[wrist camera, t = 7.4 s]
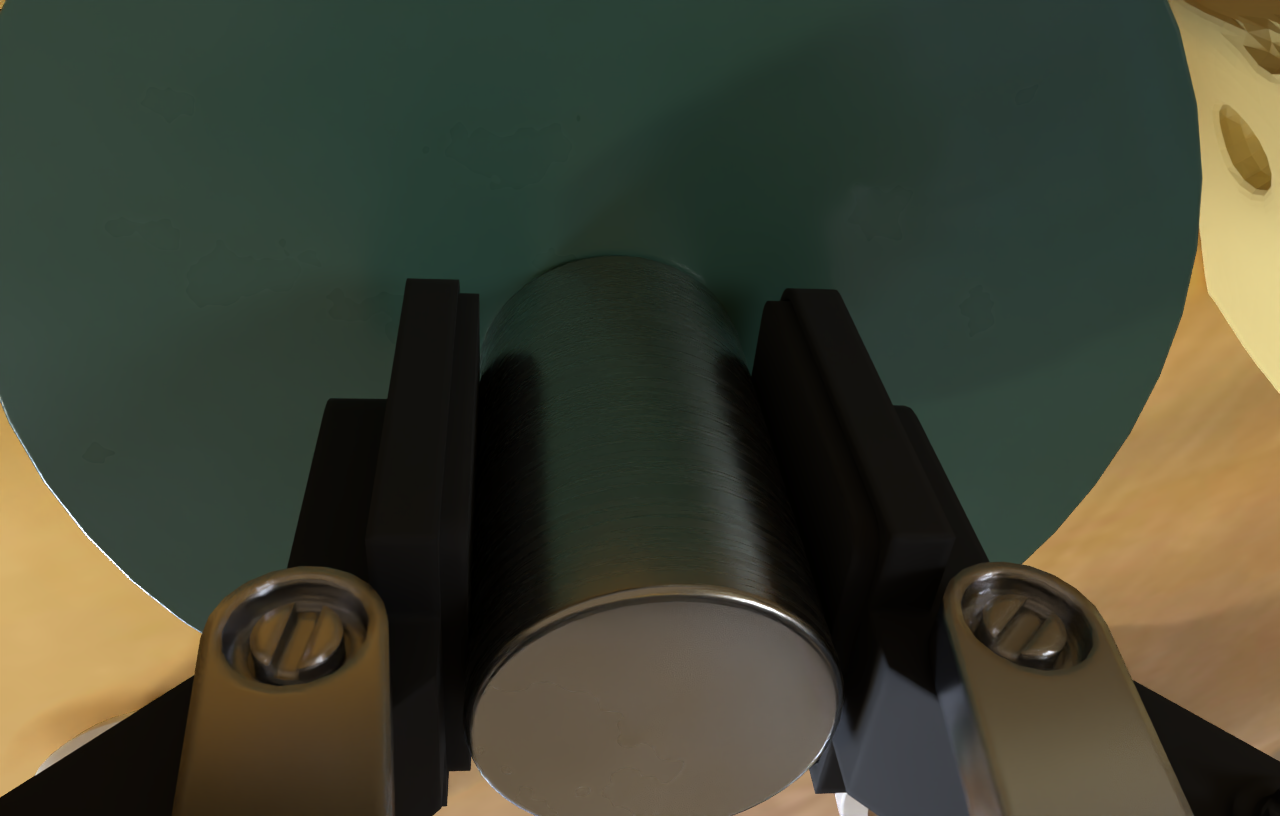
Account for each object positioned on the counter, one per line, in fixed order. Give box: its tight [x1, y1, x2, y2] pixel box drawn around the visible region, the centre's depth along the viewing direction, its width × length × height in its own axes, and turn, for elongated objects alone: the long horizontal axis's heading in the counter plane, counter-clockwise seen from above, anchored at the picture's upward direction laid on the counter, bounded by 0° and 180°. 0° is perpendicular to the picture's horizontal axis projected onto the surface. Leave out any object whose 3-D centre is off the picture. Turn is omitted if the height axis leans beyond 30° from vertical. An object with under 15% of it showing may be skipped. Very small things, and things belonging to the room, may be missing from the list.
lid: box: [0, 0, 1203, 816], centre depth 11 cm, size 14×14×6 cm
